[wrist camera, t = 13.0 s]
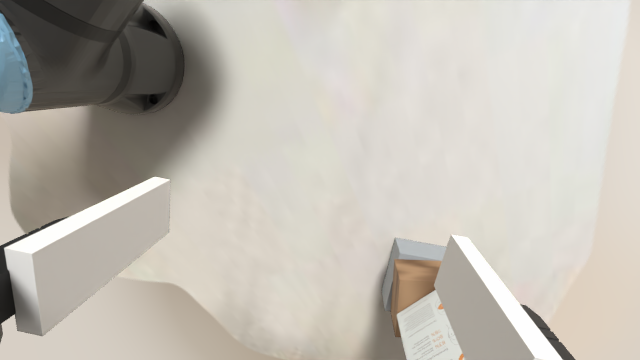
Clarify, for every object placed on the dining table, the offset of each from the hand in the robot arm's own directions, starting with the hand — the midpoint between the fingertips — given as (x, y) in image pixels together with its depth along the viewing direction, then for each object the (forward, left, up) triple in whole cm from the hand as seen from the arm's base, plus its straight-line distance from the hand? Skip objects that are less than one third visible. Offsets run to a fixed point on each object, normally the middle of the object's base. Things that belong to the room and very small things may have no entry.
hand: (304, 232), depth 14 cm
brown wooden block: (+17, -19, -27) cm, 37 cm away
